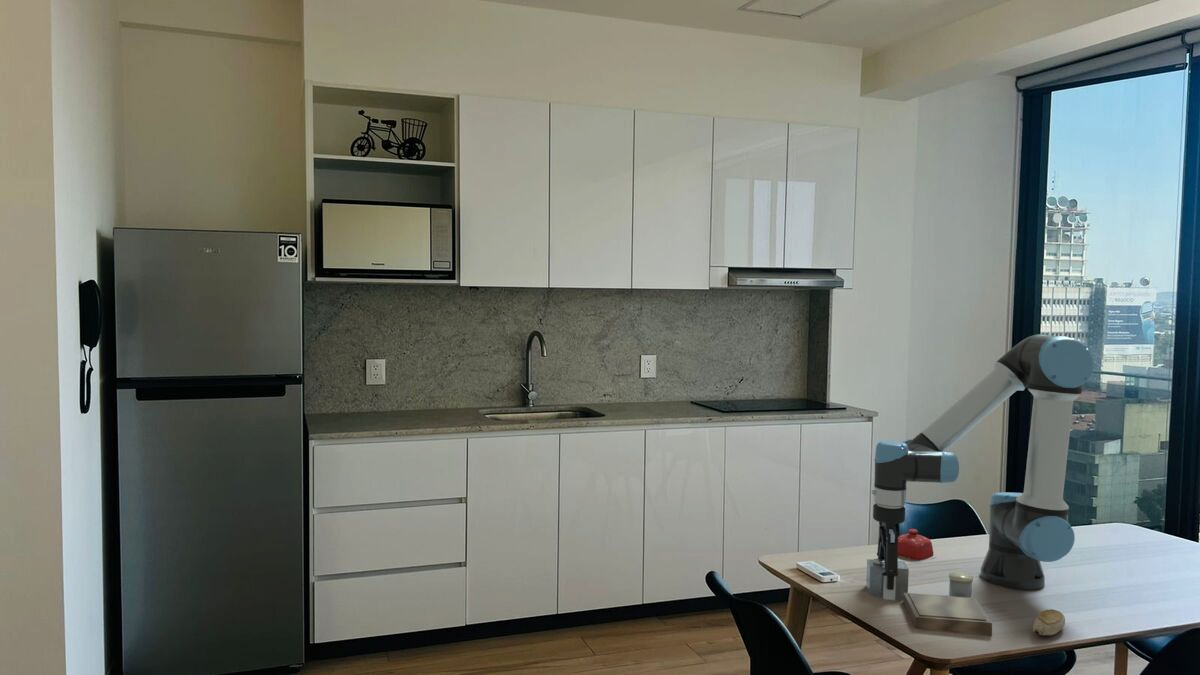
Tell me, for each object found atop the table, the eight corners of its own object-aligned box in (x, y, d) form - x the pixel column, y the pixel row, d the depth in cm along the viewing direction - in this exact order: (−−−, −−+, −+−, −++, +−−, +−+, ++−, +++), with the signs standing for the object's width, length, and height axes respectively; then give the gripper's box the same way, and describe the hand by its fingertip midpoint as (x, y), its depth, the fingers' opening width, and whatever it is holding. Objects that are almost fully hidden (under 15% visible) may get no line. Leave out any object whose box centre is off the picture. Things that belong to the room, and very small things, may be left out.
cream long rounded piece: (1053, 629, 188) (1048, 647, 189) (1073, 610, 198) (1068, 628, 199) (1028, 618, 191) (1023, 636, 192) (1048, 600, 202) (1043, 617, 202)
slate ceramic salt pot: (969, 599, 216) (970, 572, 215) (974, 607, 210) (975, 579, 210) (945, 597, 217) (946, 571, 216) (950, 605, 211) (951, 578, 211)
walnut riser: (973, 610, 208) (974, 596, 208) (991, 636, 192) (992, 621, 192) (903, 604, 211) (903, 591, 211) (915, 630, 195) (915, 616, 195)
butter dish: (919, 568, 240) (920, 537, 240) (882, 557, 249) (883, 528, 249) (942, 560, 247) (943, 530, 247) (905, 550, 256) (906, 521, 256)
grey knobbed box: (903, 593, 219) (904, 558, 219) (907, 601, 214) (908, 565, 213) (866, 590, 221) (867, 556, 221) (869, 598, 215) (870, 563, 215)
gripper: (867, 493, 227) (864, 579, 229) (879, 514, 206) (876, 609, 207) (898, 495, 226) (894, 581, 227) (913, 516, 205) (909, 611, 206)
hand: (885, 594), depth 217 cm, fingers open, 9 cm apart
